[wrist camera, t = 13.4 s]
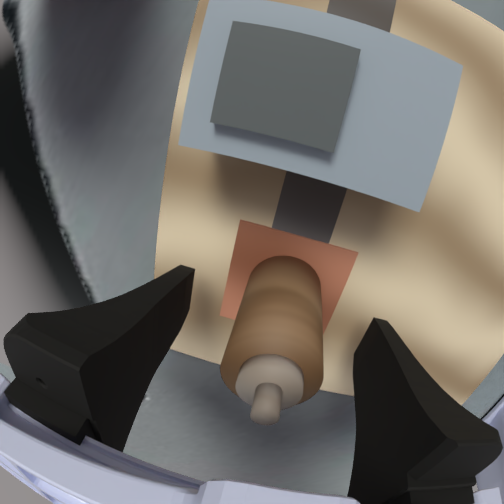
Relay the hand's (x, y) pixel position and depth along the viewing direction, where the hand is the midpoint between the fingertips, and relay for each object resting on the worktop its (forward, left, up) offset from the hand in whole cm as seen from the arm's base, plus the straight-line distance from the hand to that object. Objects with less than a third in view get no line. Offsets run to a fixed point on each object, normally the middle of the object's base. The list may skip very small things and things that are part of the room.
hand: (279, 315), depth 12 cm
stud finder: (+8, +1, -2) cm, 8 cm away
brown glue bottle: (0, 0, -2) cm, 2 cm away
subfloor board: (+4, -4, -3) cm, 7 cm away
